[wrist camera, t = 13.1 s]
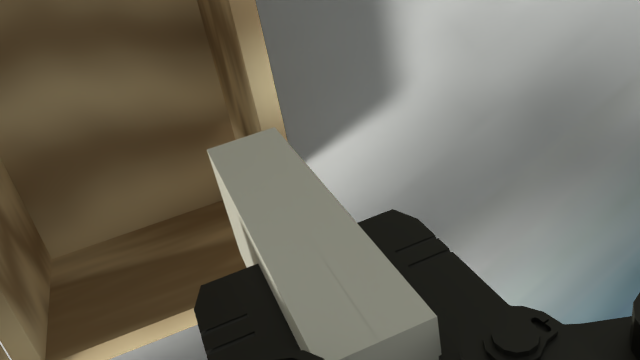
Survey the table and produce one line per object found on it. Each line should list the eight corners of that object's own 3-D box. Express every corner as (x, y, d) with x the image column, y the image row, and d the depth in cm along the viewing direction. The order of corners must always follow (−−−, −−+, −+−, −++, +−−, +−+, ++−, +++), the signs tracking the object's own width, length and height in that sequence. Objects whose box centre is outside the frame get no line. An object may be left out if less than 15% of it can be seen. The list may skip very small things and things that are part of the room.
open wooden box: (266, 191, 37) (321, 275, 29) (42, 269, 34) (31, 389, 26) (146, -263, 26) (181, -343, 17) (-213, -211, 22) (-386, -279, 14)
